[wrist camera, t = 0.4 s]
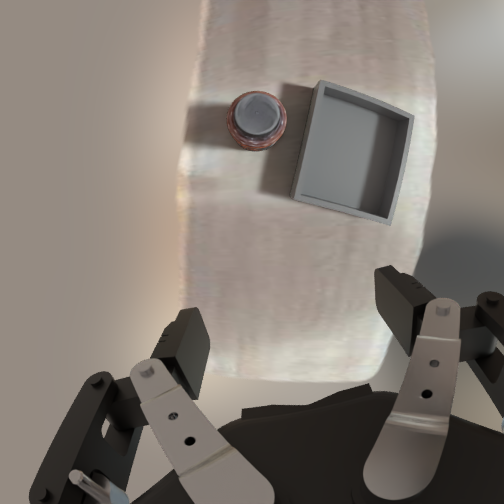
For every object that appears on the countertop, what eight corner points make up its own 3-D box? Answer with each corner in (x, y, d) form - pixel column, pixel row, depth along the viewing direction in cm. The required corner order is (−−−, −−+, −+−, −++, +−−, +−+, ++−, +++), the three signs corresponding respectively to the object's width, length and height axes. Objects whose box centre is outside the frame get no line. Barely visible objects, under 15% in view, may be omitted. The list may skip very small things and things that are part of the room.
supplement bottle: (226, 143, 33) (212, 133, 23) (241, 101, 32) (235, 74, 21) (270, 158, 34) (277, 154, 23) (286, 116, 32) (299, 94, 21)
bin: (313, 88, 31) (320, 79, 27) (400, 119, 31) (414, 115, 28) (289, 196, 35) (293, 199, 31) (378, 219, 36) (390, 225, 32)
